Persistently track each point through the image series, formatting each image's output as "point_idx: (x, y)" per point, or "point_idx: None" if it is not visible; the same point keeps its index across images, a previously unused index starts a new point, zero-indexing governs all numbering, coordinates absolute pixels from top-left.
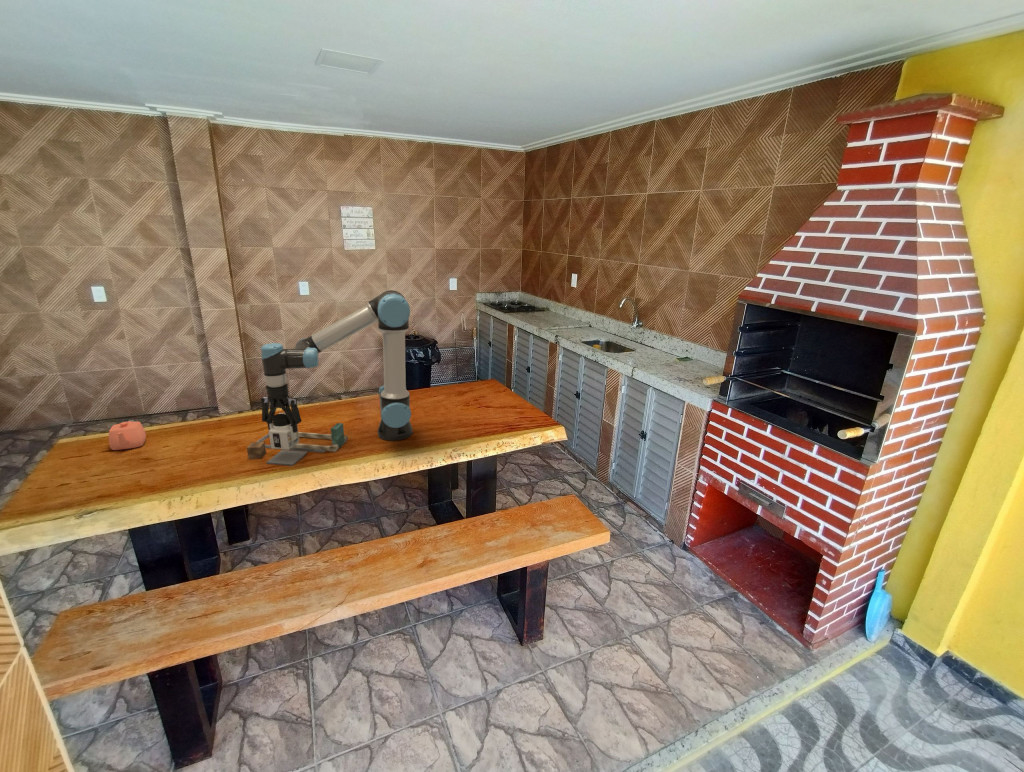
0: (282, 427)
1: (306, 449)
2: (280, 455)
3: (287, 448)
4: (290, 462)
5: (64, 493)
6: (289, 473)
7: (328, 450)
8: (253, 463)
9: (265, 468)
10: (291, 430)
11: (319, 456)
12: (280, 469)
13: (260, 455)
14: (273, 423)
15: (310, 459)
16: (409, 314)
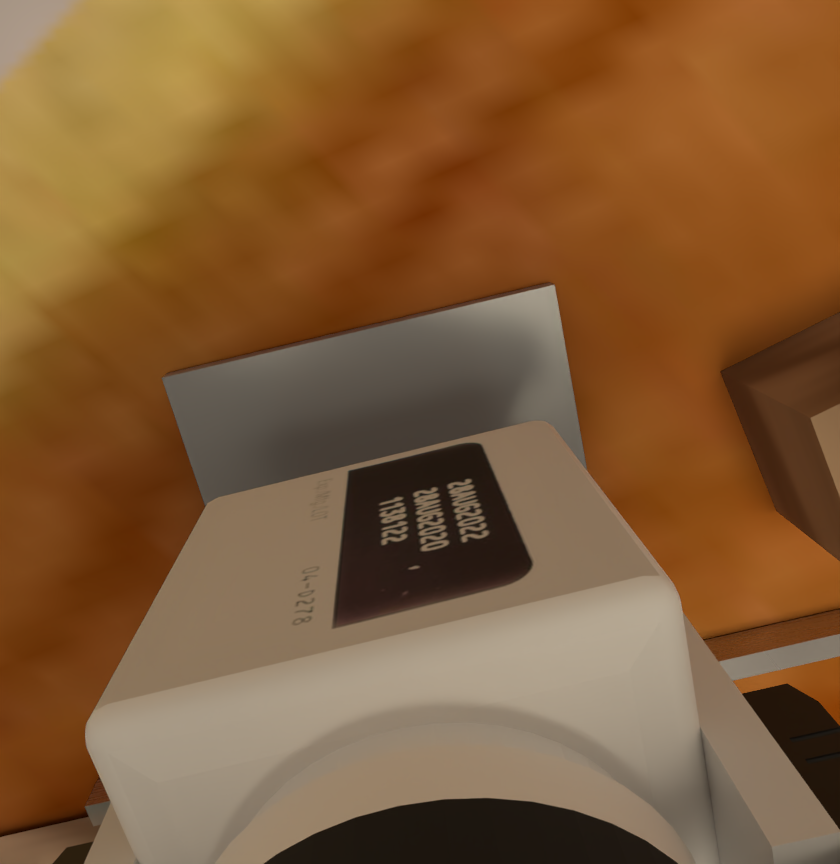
0: (250, 838)
1: None
2: None
3: (229, 499)
4: (235, 411)
5: None
6: (21, 182)
7: (65, 829)
8: (723, 214)
9: (454, 164)
10: (91, 860)
11: (71, 692)
12: (236, 226)
13: (750, 377)
14: None
15: (106, 594)
16: None
